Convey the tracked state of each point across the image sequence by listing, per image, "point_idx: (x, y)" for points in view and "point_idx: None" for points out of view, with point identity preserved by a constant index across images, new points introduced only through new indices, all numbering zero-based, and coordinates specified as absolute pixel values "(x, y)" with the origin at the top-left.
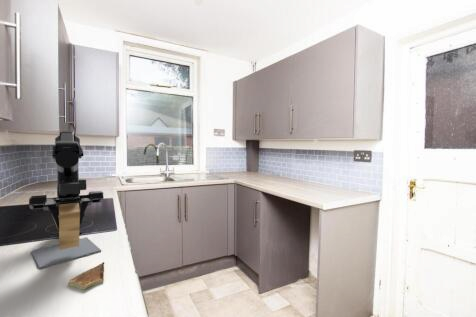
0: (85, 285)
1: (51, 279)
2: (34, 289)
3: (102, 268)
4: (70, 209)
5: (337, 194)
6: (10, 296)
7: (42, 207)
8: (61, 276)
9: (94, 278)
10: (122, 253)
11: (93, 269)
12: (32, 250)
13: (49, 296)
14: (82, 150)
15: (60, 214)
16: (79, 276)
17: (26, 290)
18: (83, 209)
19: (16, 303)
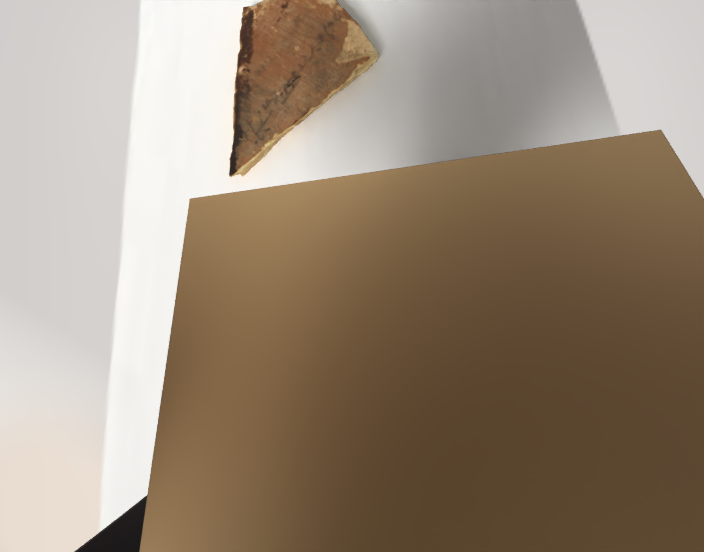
0: None
1: (451, 147)
2: (502, 86)
3: (239, 103)
4: (415, 309)
5: None
6: (580, 71)
7: None
8: (413, 156)
9: (274, 14)
10: (141, 283)
11: (277, 109)
12: None
13: (435, 3)
14: None
15: (615, 150)
16: (334, 63)
17: (531, 93)
18: (137, 538)
19: (541, 6)
